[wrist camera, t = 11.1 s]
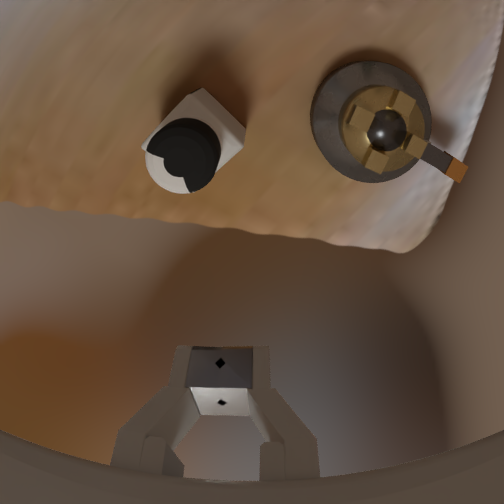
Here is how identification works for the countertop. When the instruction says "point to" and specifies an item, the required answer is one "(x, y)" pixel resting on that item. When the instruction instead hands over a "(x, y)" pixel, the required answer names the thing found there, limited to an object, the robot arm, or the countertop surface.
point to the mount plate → (333, 98)
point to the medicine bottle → (192, 143)
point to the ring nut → (389, 132)
